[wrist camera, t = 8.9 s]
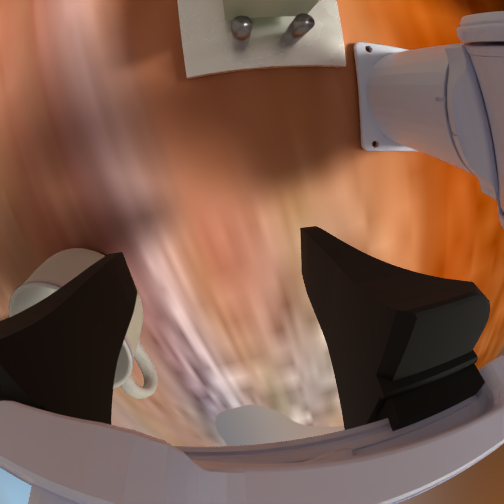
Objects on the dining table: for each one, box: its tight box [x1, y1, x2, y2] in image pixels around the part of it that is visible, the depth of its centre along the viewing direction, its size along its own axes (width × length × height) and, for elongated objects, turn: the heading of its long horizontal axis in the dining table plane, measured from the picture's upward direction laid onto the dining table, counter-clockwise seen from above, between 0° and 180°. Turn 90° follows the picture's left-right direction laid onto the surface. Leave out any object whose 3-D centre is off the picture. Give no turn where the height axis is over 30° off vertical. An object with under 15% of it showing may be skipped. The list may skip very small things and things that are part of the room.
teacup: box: [9, 248, 158, 399], centre depth 20 cm, size 14×11×8 cm
